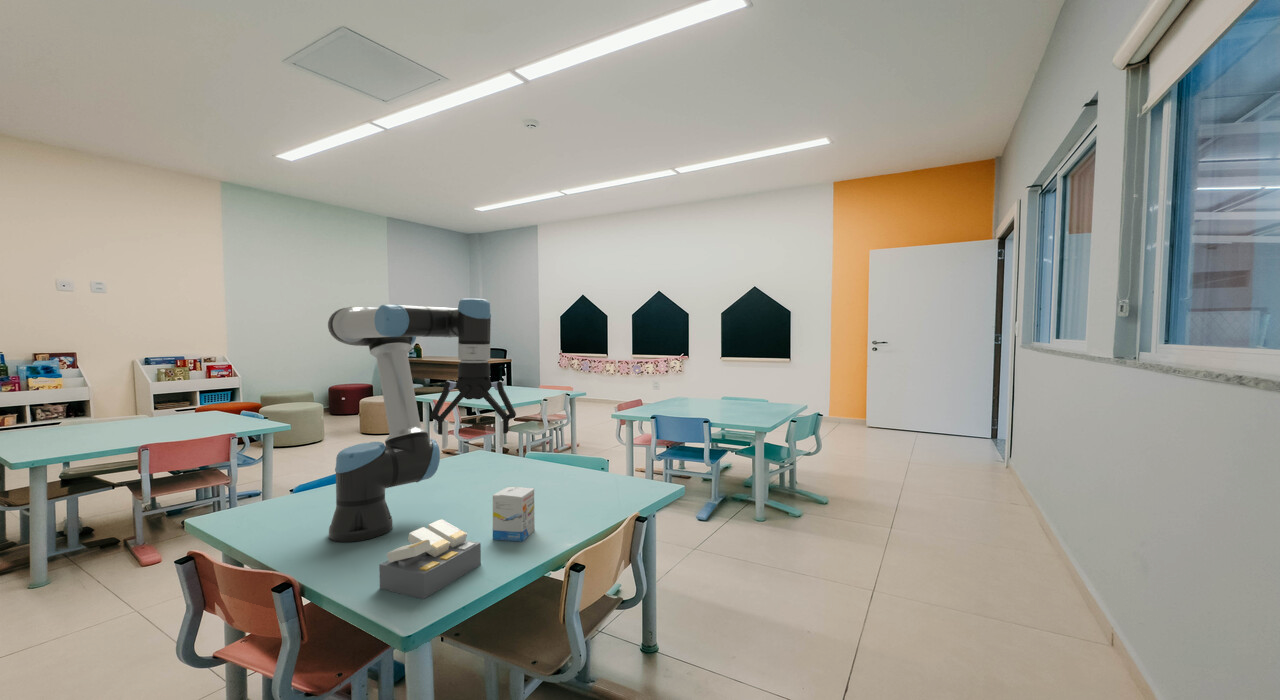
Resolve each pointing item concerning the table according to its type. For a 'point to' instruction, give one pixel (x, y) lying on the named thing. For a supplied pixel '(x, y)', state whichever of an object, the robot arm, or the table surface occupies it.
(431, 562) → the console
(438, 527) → the rocker
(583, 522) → the table surface
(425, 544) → the rocker
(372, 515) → the robot arm
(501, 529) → the ink box
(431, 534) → the rocker
